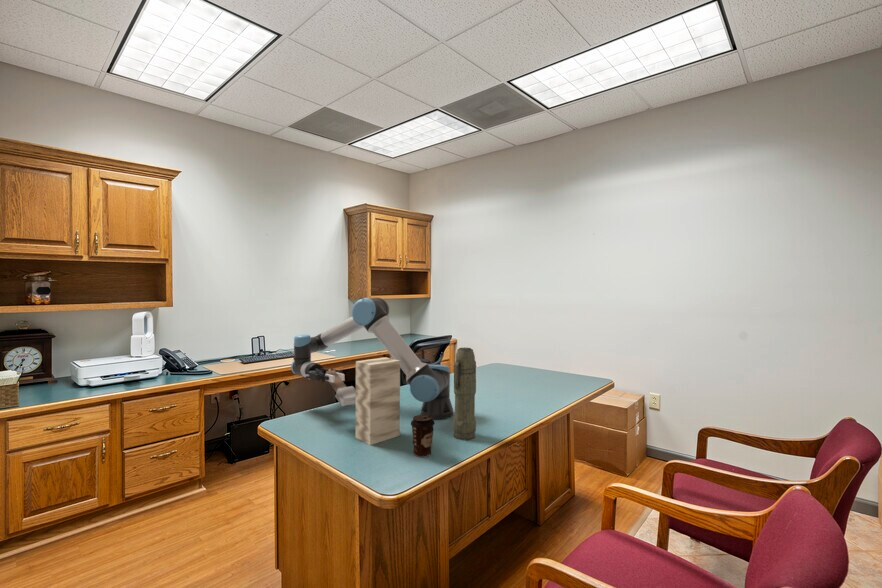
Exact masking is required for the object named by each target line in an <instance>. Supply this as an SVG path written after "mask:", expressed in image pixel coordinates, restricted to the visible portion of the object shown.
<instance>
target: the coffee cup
mask: <svg viewBox="0 0 882 588" xmlns="http://www.w3.org/2000/svg"><path fill="white" fill-rule="evenodd" d="M432 418H433V417H432V416H431V415H421V414H417V415H414V416H413V418H412V420H411V422H410V425H411V431H412V432H411V433H412V440H413V441H412V444H413V451H412V454H413V455H414V456H415V457H419V458H423V457H424V458H425V457H428V456H430V455H432V446H433V437H434V429H435V428H434V425H435V423H436V422H435V421H434V420H435V419H432Z"/></svg>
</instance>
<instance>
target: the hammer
mask: <svg viewBox="0 0 882 588" xmlns="http://www.w3.org/2000/svg"><path fill="white" fill-rule="evenodd" d="M335 370H336V369H335ZM335 370H332V371H326V374H329V375H333V376H335V382H334V383H332V382H329V381H328V383H329V384H330V385H331V387H332V388H333V390H334V391H335V396H334V397H335V398H336V400H337V401H338V403H339V404H340V406H341V407H345V406H348V405H349V406H350V405H354V404H356V387H354V386H353V385H351V386H347V385H346V384H345V383H344V382H345V381H342V380H341V378H340V377H339V376H338V374H337V373H336V371H335Z"/></svg>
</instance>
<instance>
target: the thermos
mask: <svg viewBox="0 0 882 588" xmlns="http://www.w3.org/2000/svg"><path fill="white" fill-rule="evenodd" d="M453 393H454V417H453V421H452V422H453V424H452V425H453V427H452V428H453V429H452V430H453V437H454V438H455V439H456V440H460V441H470V440H473V439H475V438H476V430H477V428H476V427H477V420H476V417H475V411H476V410H475V409H476V407H475V405H476V404H475V402H476V401H475V399H476V393H477V362H476V357H475V352H474V349H472V348H471V347H459V348H457V350H456V353H455V362H454V364H453Z"/></svg>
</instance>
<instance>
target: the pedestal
mask: <svg viewBox="0 0 882 588" xmlns="http://www.w3.org/2000/svg"><path fill="white" fill-rule="evenodd" d="M355 390H356V403H355V434H354V435H355V439H357V440H359V441H361V442H364V443H366V444H367V445H369V446H372V445H375V444H378V443H380V442H382V443H383V442H384V441H387V440H390V439H393V438H396V437H400V431H401V429H400V428H401V425H400V424H401V419H400V416H401V414H400V413H401V405H400V404H401V368H400V360H395V359H393V358H391V357H386V356H385V357H378V358H372V359H365V360H364V359H362V360H356V361H355Z"/></svg>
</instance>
